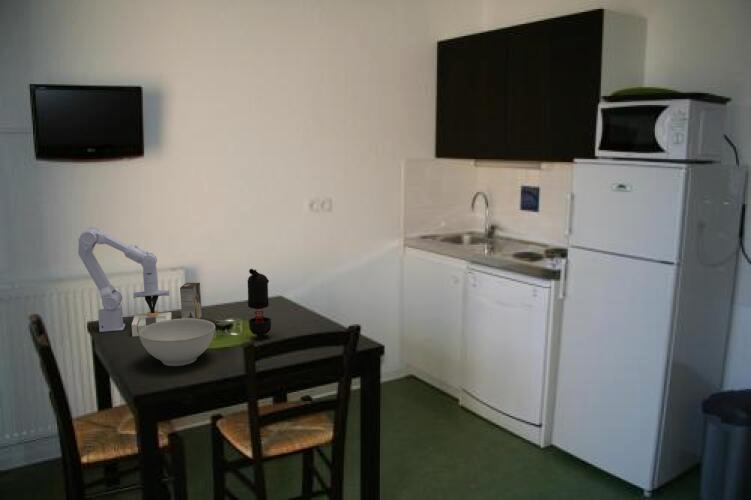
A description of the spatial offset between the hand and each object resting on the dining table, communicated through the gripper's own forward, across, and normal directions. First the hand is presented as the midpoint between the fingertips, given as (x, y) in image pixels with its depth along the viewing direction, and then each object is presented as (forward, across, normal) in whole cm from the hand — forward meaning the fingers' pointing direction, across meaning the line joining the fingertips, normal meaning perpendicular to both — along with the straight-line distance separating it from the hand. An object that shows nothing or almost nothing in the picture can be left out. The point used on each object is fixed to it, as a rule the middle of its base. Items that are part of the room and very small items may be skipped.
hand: (152, 312), depth 270 cm
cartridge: (+5, 0, +8) cm, 9 cm away
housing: (+6, 0, +5) cm, 8 cm away
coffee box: (+6, -16, -6) cm, 18 cm away
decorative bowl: (+6, -12, +46) cm, 48 cm away
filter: (+6, -44, +27) cm, 52 cm away
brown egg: (+5, 0, 0) cm, 5 cm away
